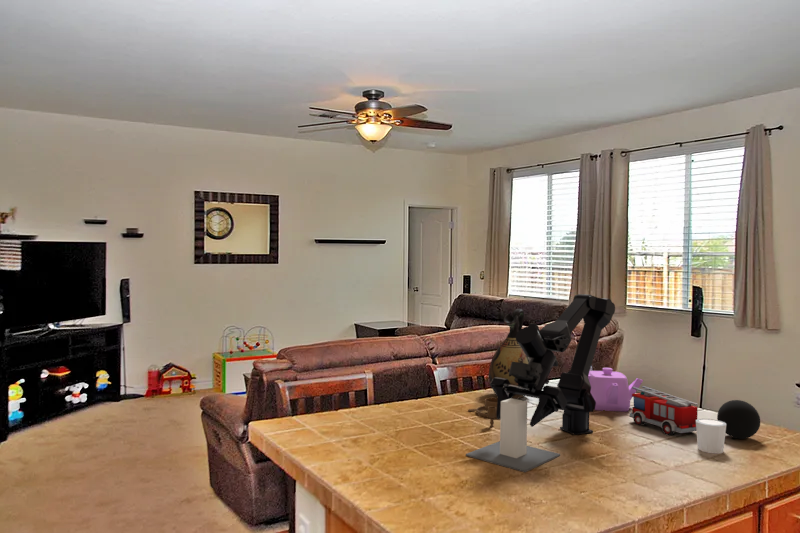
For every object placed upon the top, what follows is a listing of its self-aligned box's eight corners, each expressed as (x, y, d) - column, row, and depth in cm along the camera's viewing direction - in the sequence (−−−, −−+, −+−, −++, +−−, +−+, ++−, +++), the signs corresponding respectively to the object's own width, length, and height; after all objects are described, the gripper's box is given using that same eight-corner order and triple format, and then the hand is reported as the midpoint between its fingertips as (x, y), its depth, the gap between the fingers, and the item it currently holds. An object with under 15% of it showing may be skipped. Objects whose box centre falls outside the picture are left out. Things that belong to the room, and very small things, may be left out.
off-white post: (510, 449, 146) (511, 398, 146) (526, 453, 143) (527, 401, 143) (499, 453, 142) (500, 401, 142) (516, 458, 139) (517, 404, 139)
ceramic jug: (524, 403, 197) (526, 311, 196) (481, 396, 205) (482, 309, 205) (542, 393, 211) (543, 308, 211) (500, 388, 219) (502, 306, 219)
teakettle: (599, 397, 206) (599, 362, 206) (645, 407, 193) (646, 369, 193) (568, 404, 196) (569, 366, 196) (615, 415, 182) (616, 375, 182)
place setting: (532, 417, 180) (532, 398, 180) (494, 430, 165) (495, 409, 165) (484, 407, 192) (484, 389, 192) (445, 419, 177) (445, 399, 177)
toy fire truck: (648, 419, 179) (649, 385, 179) (703, 436, 162) (704, 399, 162) (626, 421, 175) (626, 387, 175) (679, 439, 158) (680, 401, 158)
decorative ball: (717, 430, 167) (718, 394, 167) (759, 436, 162) (760, 399, 162) (716, 439, 158) (716, 401, 158) (760, 445, 153) (761, 406, 153)
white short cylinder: (723, 447, 151) (723, 419, 151) (728, 455, 145) (729, 426, 145) (693, 444, 153) (693, 417, 153) (697, 452, 147) (697, 423, 147)
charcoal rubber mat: (503, 441, 154) (503, 439, 154) (560, 455, 143) (560, 453, 143) (465, 455, 142) (465, 453, 142) (525, 472, 131) (525, 470, 131)
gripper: (494, 345, 153) (468, 395, 145) (561, 353, 140) (536, 409, 132) (510, 372, 158) (486, 421, 150) (576, 382, 146) (554, 437, 138)
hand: (513, 421), depth 143 cm, fingers open, 9 cm apart
